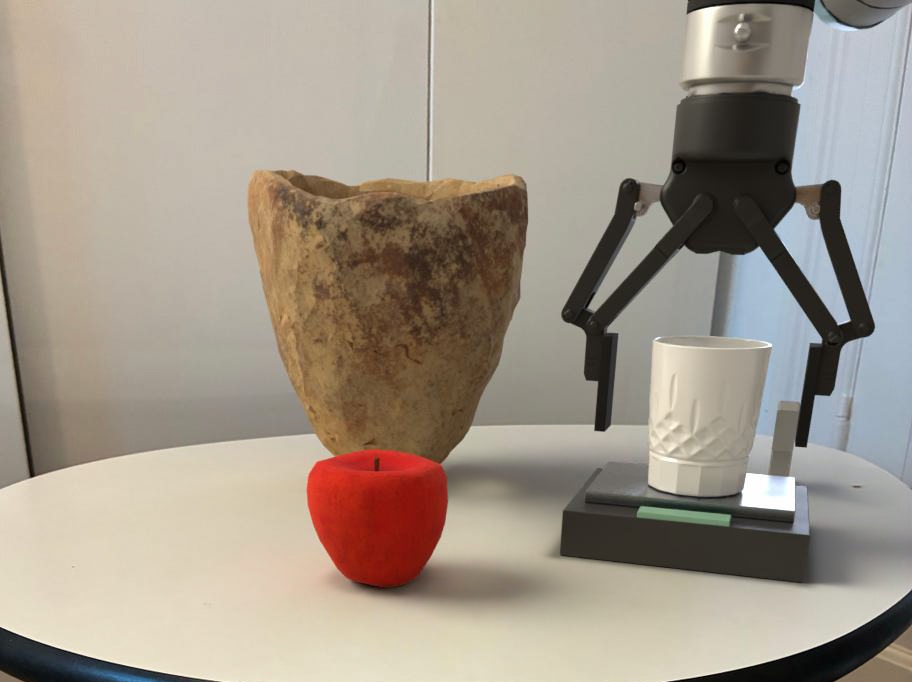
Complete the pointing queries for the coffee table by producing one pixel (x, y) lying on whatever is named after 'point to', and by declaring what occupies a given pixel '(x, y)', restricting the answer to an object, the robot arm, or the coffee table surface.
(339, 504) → the apple
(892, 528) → the coffee table surface
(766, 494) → the scale pan
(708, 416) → the white cup
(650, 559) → the scale
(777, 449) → the beige upright slab
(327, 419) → the brown clay pot
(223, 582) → the coffee table surface
